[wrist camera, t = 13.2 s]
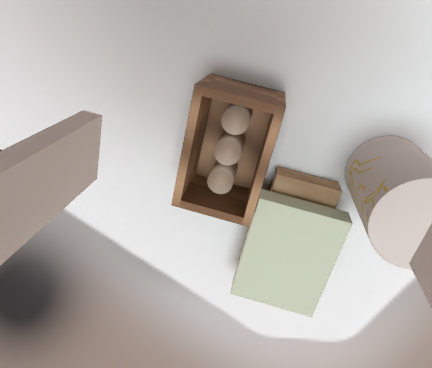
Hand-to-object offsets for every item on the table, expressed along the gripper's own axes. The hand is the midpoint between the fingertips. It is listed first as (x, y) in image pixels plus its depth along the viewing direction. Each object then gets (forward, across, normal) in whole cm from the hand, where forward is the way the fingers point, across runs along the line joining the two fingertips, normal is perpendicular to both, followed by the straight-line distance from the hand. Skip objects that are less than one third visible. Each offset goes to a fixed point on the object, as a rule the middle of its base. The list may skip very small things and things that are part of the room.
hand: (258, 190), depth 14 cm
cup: (+27, +14, -6) cm, 31 cm away
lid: (+24, +7, -17) cm, 30 cm away
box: (+27, -2, -7) cm, 28 cm away
